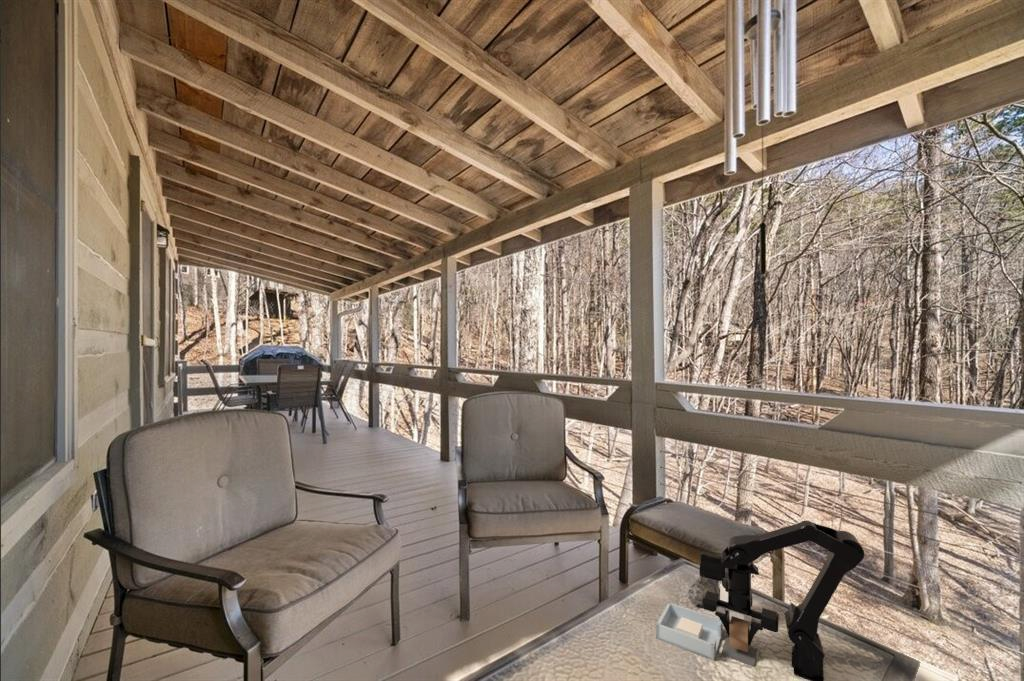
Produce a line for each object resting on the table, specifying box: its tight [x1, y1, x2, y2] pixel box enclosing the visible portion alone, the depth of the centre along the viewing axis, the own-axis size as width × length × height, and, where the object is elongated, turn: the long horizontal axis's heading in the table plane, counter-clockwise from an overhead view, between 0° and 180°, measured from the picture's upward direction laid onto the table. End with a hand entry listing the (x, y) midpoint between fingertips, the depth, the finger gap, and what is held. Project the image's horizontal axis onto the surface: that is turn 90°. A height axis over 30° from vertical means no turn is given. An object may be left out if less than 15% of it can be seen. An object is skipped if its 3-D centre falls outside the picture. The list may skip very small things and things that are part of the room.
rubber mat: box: [720, 636, 758, 668], centre depth 120 cm, size 8×8×1 cm
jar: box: [719, 572, 753, 623], centre depth 136 cm, size 9×8×12 cm
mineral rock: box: [687, 576, 720, 606], centre depth 146 cm, size 13×11×10 cm
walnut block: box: [728, 616, 751, 652], centre depth 120 cm, size 4×4×6 cm
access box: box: [655, 602, 723, 661], centre depth 127 cm, size 16×14×4 cm
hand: (739, 640), depth 120 cm, fingers closed on walnut block, 4 cm apart
